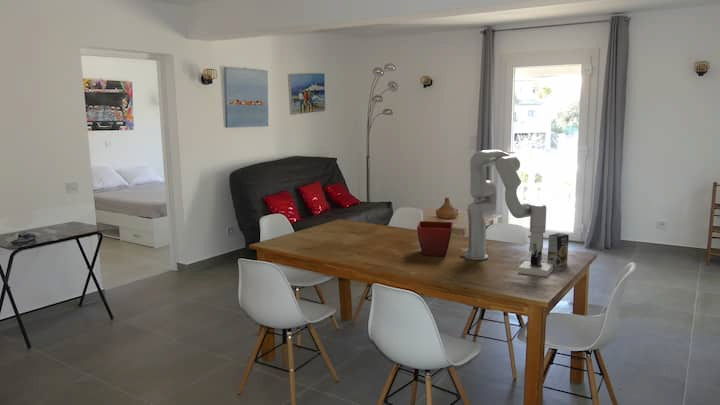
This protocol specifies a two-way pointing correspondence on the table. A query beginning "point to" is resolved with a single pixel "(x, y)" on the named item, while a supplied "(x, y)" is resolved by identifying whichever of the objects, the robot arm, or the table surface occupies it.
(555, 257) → the coffee box
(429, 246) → the plant pot
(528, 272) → the outlet
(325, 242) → the table surface
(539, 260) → the dark grey rectangular block
